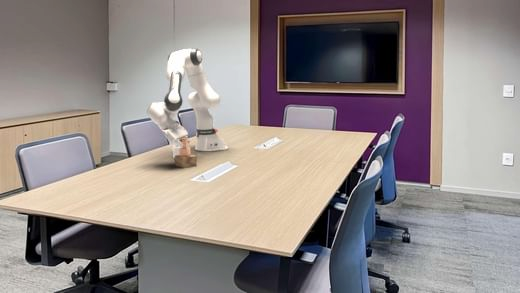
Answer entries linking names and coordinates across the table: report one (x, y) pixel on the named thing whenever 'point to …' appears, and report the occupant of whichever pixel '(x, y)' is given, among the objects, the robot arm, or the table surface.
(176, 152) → the medicine bottle
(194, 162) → the walnut block
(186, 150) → the vase
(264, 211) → the table surface
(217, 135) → the robot arm
